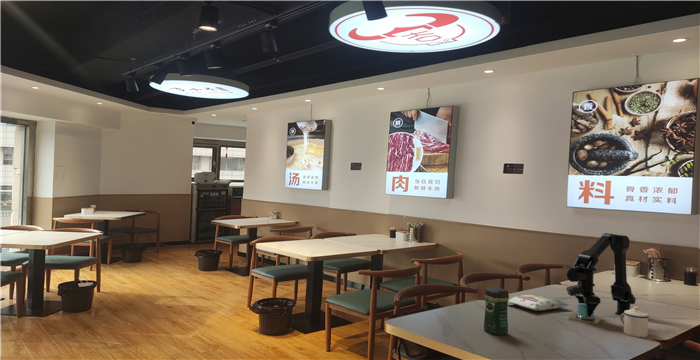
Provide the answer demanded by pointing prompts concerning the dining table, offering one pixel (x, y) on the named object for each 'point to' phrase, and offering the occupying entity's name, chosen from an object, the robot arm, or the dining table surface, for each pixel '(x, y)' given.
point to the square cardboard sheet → (585, 319)
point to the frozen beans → (537, 302)
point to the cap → (583, 310)
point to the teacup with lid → (635, 322)
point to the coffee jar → (496, 310)
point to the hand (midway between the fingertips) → (585, 313)
